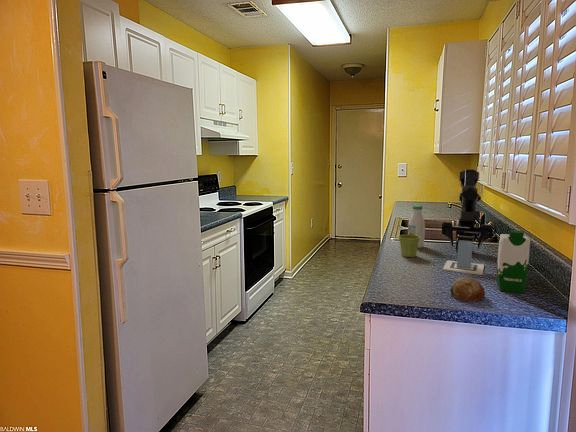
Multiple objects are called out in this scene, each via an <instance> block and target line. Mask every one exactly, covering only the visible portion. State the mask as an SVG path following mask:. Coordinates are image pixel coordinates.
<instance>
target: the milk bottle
mask: <svg viewBox="0 0 576 432" xmlns="http://www.w3.org/2000/svg"><path fill="white" fill-rule="evenodd" d="M425 221H426V220H425V218H424V216H423V205H417V204H416V205H412V213H411V216H410V218H409V219H408V226H407V235H417V236H420V237H421V238H420V239H419V242H418V247H417V249H421V248H424V246H425V235H426V234H425V232H426V230H425V229H426V223H425Z"/></svg>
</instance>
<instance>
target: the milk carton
mask: <svg viewBox="0 0 576 432" xmlns="http://www.w3.org/2000/svg"><path fill="white" fill-rule="evenodd" d="M524 234H525V232H524V231H522V230H509V233H508V234H507V233H505V234H504V233H501V234H500V235H499V236H500V237H499V241H498V250H497V261H496V262H497V264H496V281H497V282H496V284H497V286H498V289H499V291H500V292H506V293H517V294H518V293H519V294H525V291H526V286H527V285H526V284H527V280H528V269H529V263H530V262H529V261H530V248H531V239H530V238H529V237H528V236H526V235H524Z"/></svg>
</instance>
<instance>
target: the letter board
mask: <svg viewBox="0 0 576 432" xmlns="http://www.w3.org/2000/svg"><path fill="white" fill-rule="evenodd" d="M484 267H485V264H482V263H474V262H471V269H466V268H457V260H456V261H454V260H446V262H445V263H444V266H443V268H442V271H444V272H445V271H446V272H454V273H462V274H470V275H478V276H479V275H480V276H483V274H484Z"/></svg>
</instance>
